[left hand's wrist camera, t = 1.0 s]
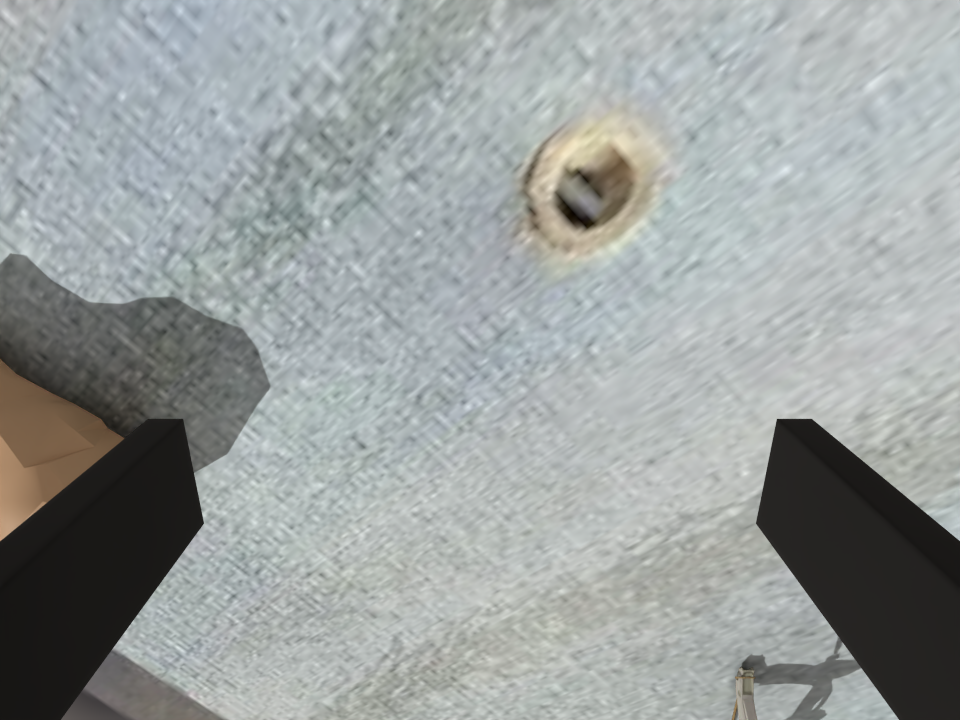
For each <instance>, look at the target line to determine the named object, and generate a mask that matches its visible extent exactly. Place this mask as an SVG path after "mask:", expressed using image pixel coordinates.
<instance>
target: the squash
mask: <svg viewBox="0 0 960 720" xmlns="http://www.w3.org/2000/svg"><path fill="white" fill-rule="evenodd" d="M123 439H125V438H123V437H122V436H120V435H118V434H116V433H115V432H113V431H111V430H110V429H108V428H107V427H106V425H105V424H104V423H103V421H102V420H101V419H100V418H98V417H97V416H95V415H93V414H91V413H90V412H88V411H86V410H84V409H83V408H81V407H79V406H77V405H76V404H74V403H72V402H70V401H67V400H65V399H63V398H61V397H59V396H57V395H54V394H52V393H51V392H49V391H47V390H45V389H43V388H41V387H39V386H38V385H36V384H34V383H32V382H30V381H28V380H26V379H25V378H23V377H21V376H19V375H17V374H16V373H15V372H14V371H13V370H11V369H10V368H9V367H8V366H7V365H6V364H5V363H4V362H3V361H2V360H1V359H0V541H1V540H2V539H4V538H5V537H6V536H7V535H8V534H10V533H11V532H12V531H13V530H14V529H16V528H17V527H18V526H19V525H20V524H22V523H23V522H24V521H25V520H27V519H28V518H29V517H30V516H31V515H33V514H34V513H35V512H36V511H37V510H39V509H40V508H41V507H42V506H43V505H45V504H46V503H47V502H48V501H50V500H51V499H52V498H53V497H54V496H56V495H57V494H58V493H59V492H60V491H62V490H63V489H64V488H65V487H66V486H68V485H69V484H70V483H71V482H73V481H74V480H75V479H76V478H77V477H79V476H80V475H81V474H82V473H83V472H85V471H86V470H87V469H88V468H90V467H91V466H92V465H93V464H94V463H96V462H97V461H98V460H99V459H100V458H102V457H103V456H104V455H105V454H106V453H108V452H109V451H110V450H111V449H113V448H114V447H115V446H116V445H117V444H119V443H120V442H121V441H122V440H123Z"/></svg>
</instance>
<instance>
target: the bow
mask: <svg viewBox="0 0 960 720" xmlns="http://www.w3.org/2000/svg"><path fill="white" fill-rule="evenodd" d="M753 675H754V669H753V667H752V668H750V669H749V670H744V669H743V668H742V667H741V668H739V672H738V674H737V677H735V678H736V695H737V699H736V704H735V708H734V712H733V716H732V720H734V719H735V714H736V710H737V706H738V714H739V720H757V716H756V712H755V706H754V700H753V687H754V679H755V677H753Z"/></svg>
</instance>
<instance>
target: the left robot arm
mask: <svg viewBox="0 0 960 720" xmlns="http://www.w3.org/2000/svg"><path fill="white" fill-rule="evenodd" d="M203 524H204V521H203V516H202V512H201V507H200V502H199V497H198V492H197V487H196V482H195V477H194V472H193V467H192V462H191V457H190V452H189V447H188V442H187V437H186V432H185V427H184V422H183V419H148V420H146V421H145V422H144V423H143V424H142V425H140V426H139V427H138V428H137V429H136V430H134V431H133V432H132V433H131V434H129V435H128V436H127V437H126V438H125V439H123V440H122V441H121V442H120V443H119V444H117V445H116V446H115V447H114V448H113V449H111V450H110V451H109V452H108V453H106V454H105V455H104V456H103V457H102V458H100V459H99V460H98V461H97V462H96V463H94V464H93V465H92V466H91V467H90V468H88V469H87V470H86V471H85V472H83V473H82V474H81V475H80V476H79V477H77V478H76V479H75V480H74V481H73V482H71V483H70V484H69V485H68V486H66V487H65V488H64V489H63V490H62V491H60V492H59V493H58V494H57V495H56V496H54V497H53V498H52V499H51V500H50V501H48V502H47V503H46V504H45V505H43V506H42V507H41V508H40V509H39V510H37V511H36V512H35V513H34V514H33V515H31V516H30V517H29V518H28V519H27V520H25V521H24V522H23V523H22V524H20V525H19V526H18V527H17V528H16V529H14V530H13V531H12V532H11V533H10V534H8V535H7V536H6V537H5V538H4V539H2V540H1V541H0V720H61V719H62V717H63V716H64V715H65V713H66V712H67V710H68V709H69V708H70V706H71V705H72V704H73V702H74V701H75V699H76V698H77V697H78V695H79V694H80V693H81V691H82V690H83V688H84V687H85V686H86V684H87V683H88V682H89V680H90V679H91V678H92V676H93V675H94V673H95V672H96V671H97V669H98V668H99V667H100V665H101V664H102V662H103V661H104V660H105V658H106V657H107V656H108V654H109V653H110V651H111V650H112V649H113V647H114V646H115V645H116V643H117V642H118V641H119V639H120V638H121V636H122V635H123V634H124V632H125V631H126V630H127V628H128V627H129V625H130V624H131V623H132V621H133V620H134V619H135V617H136V616H137V614H138V613H139V612H140V610H141V609H142V608H143V606H144V605H145V604H146V602H147V601H148V599H149V598H150V597H151V595H152V594H153V593H154V591H155V590H156V588H157V587H158V586H159V584H160V583H161V582H162V580H163V579H164V577H165V576H166V575H167V573H168V572H169V571H170V569H171V568H172V567H173V565H174V564H175V562H176V561H177V560H178V558H179V557H180V556H181V554H182V553H183V551H184V550H185V549H186V547H187V546H188V545H189V543H190V542H191V540H192V539H193V538H194V536H195V535H196V534H197V532H198V531H199V530H200V528H201V527H202V525H203ZM756 524H757V525H758V527H759V528H760V530H761V531H762V532H763V534H764V535H765V536H766V538H767V539H768V540H769V542H770V543H771V545H772V546H773V547H774V549H775V550H776V551H777V553H778V554H779V556H780V557H781V558H782V560H783V561H784V562H785V564H786V565H787V567H788V568H789V569H790V571H791V572H792V573H793V575H794V576H795V577H796V579H797V580H798V582H799V583H800V584H801V586H802V587H803V588H804V590H805V591H806V593H807V594H808V595H809V597H810V598H811V599H812V601H813V602H814V604H815V605H816V606H817V608H818V609H819V610H820V612H821V613H822V614H823V616H824V617H825V619H826V620H827V621H828V623H829V624H830V625H831V627H832V628H833V630H834V631H835V632H836V634H837V635H838V636H839V638H840V639H841V641H842V642H843V643H844V645H845V646H846V647H847V649H848V650H849V651H850V653H851V654H852V656H853V657H854V658H855V660H856V661H857V662H858V664H859V665H860V667H861V668H862V669H863V671H864V672H865V673H866V675H867V676H868V678H869V679H870V680H871V682H872V683H873V684H874V686H875V687H876V688H877V690H878V691H879V693H880V694H881V695H882V697H883V698H884V699H885V701H886V702H887V704H888V705H889V706H890V708H891V709H892V710H893V712H894V713H895V715H896V716H897V717H898V719H899V720H960V541H959V540H958V539H956V538H955V537H954V536H953V535H952V534H950V533H949V532H948V531H947V530H946V529H944V528H943V527H942V526H941V525H940V524H938V523H937V522H936V521H935V520H933V519H932V518H931V517H930V516H929V515H927V514H926V513H925V512H924V511H923V510H921V509H920V508H919V507H918V506H917V505H915V504H914V503H913V502H912V501H910V500H909V499H908V498H907V497H906V496H904V495H903V494H902V493H901V492H900V491H898V490H897V489H896V488H895V487H894V486H892V485H891V484H890V483H889V482H887V481H886V480H885V479H884V478H883V477H881V476H880V475H879V474H878V473H877V472H875V471H874V470H873V469H872V468H870V467H869V466H868V465H867V464H866V463H864V462H863V461H862V460H861V459H860V458H858V457H857V456H856V455H855V454H854V453H852V452H851V451H850V450H849V449H847V448H846V447H845V446H844V445H843V444H841V443H840V442H839V441H838V440H837V439H835V438H834V437H833V436H832V435H831V434H829V433H828V432H827V431H826V430H824V429H823V428H822V427H821V426H820V425H818V424H817V423H816V422H815V421H814V420H812V419H777V422H776V427H775V432H774V437H773V442H772V447H771V452H770V457H769V462H768V467H767V472H766V477H765V482H764V487H763V492H762V497H761V502H760V507H759V511H758V516H757V521H756Z"/></svg>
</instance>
